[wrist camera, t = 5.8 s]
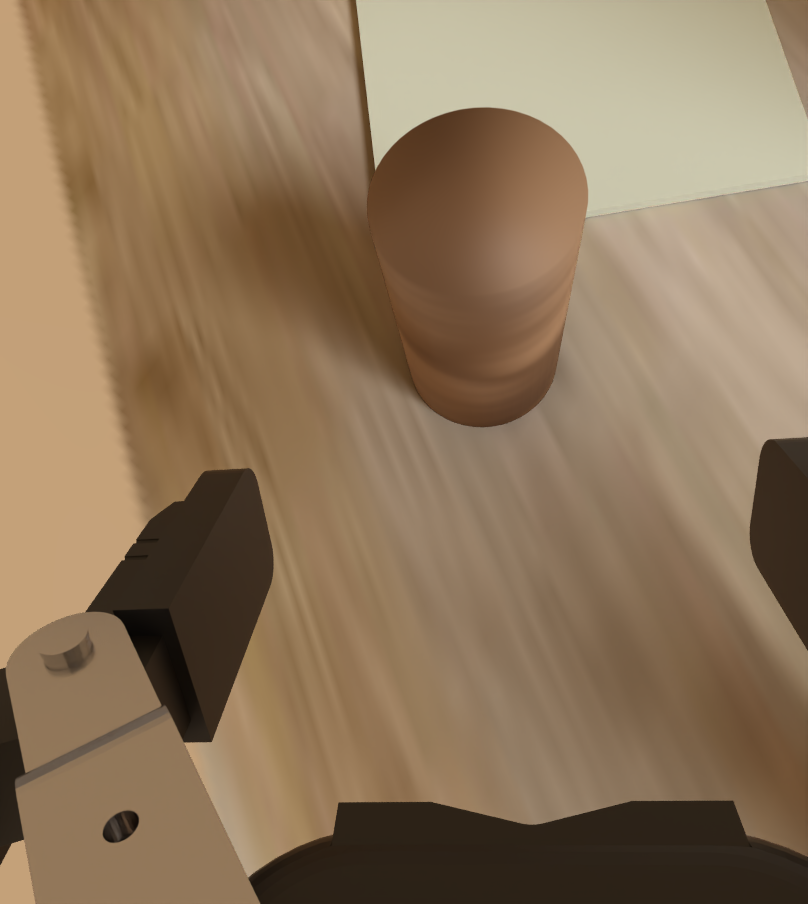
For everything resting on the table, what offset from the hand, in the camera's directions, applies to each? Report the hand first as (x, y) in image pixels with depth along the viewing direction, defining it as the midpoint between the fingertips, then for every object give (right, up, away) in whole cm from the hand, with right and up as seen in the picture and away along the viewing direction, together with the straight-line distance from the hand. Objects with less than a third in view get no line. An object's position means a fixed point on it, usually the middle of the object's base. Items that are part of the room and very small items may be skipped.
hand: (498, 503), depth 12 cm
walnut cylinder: (+1, +4, +14) cm, 14 cm away
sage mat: (+5, +16, +17) cm, 24 cm away
